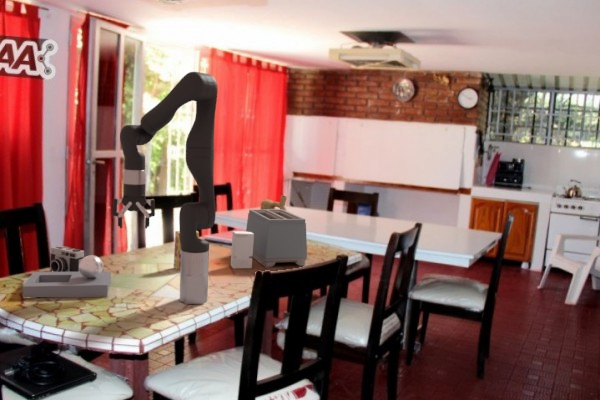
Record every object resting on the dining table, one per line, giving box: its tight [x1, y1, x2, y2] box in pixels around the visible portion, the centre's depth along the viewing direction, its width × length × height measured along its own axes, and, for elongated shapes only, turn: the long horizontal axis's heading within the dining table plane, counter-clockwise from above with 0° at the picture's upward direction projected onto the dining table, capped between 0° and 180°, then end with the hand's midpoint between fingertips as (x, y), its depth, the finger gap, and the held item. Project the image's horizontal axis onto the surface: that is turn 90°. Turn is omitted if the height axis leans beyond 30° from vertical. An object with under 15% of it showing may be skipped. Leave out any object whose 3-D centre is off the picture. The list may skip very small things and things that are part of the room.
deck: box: [22, 270, 112, 299], centre depth 200 cm, size 18×26×4 cm
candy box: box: [173, 230, 200, 271], centre depth 236 cm, size 9×4×15 cm, turn 123°
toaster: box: [245, 208, 308, 268], centre depth 263 cm, size 19×35×20 cm, turn 23°
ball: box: [79, 254, 104, 279], centre depth 201 cm, size 8×8×8 cm
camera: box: [49, 245, 85, 272], centre depth 219 cm, size 14×9×10 cm, turn 57°
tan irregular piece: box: [260, 195, 288, 211], centre depth 295 cm, size 17×20×25 cm
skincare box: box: [230, 230, 254, 270], centre depth 243 cm, size 8×6×15 cm
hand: (133, 227), depth 206 cm, fingers open, 8 cm apart
